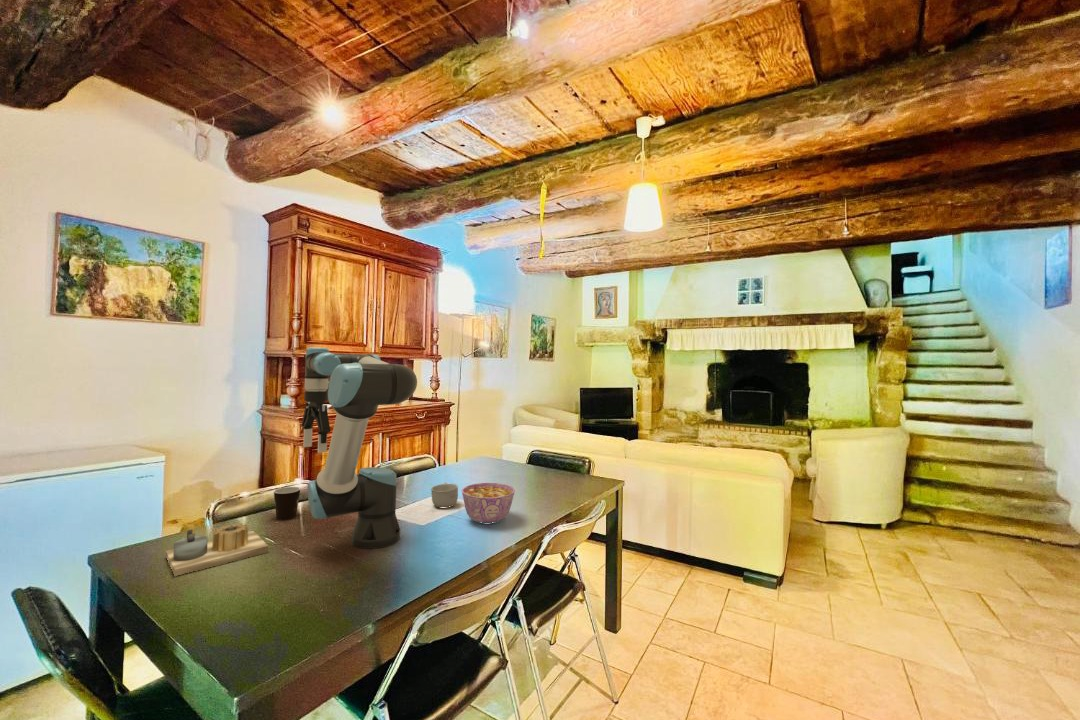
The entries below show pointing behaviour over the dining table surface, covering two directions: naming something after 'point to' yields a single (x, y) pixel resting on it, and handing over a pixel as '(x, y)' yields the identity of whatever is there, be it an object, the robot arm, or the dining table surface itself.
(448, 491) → the teacup
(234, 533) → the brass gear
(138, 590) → the dining table surface
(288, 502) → the coffee mug
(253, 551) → the birch board
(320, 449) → the robot arm
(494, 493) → the bowl of food
